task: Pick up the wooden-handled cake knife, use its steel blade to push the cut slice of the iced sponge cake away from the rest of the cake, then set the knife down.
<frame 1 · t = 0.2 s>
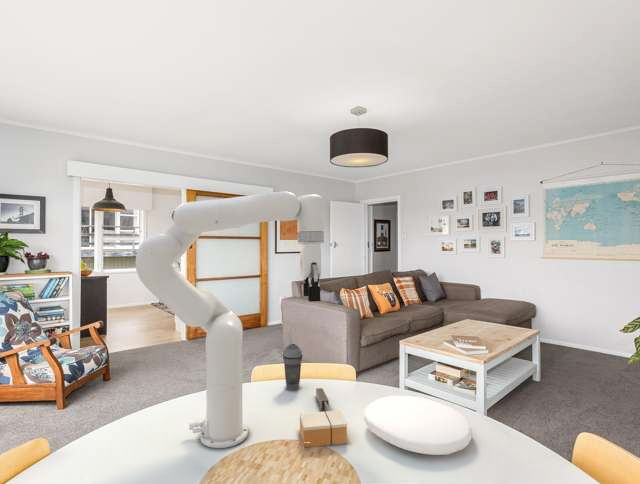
hand: (311, 298, 105), 36 cm above the table, tool pointing down, fingers open, 9 cm apart
white round disc: (416, 433, 101), on the table
cake slice: (335, 436, 100), on the table
beverage cup: (292, 388, 133), on the table
cake: (314, 437, 99), on the table
knife: (322, 403, 120), on the table
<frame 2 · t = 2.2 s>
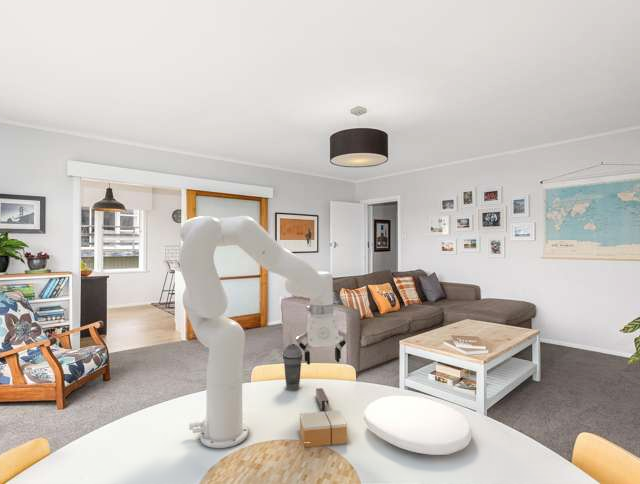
hand: (322, 362, 120), 13 cm above the table, tool pointing down, fingers open, 9 cm apart
nothing on the table moved.
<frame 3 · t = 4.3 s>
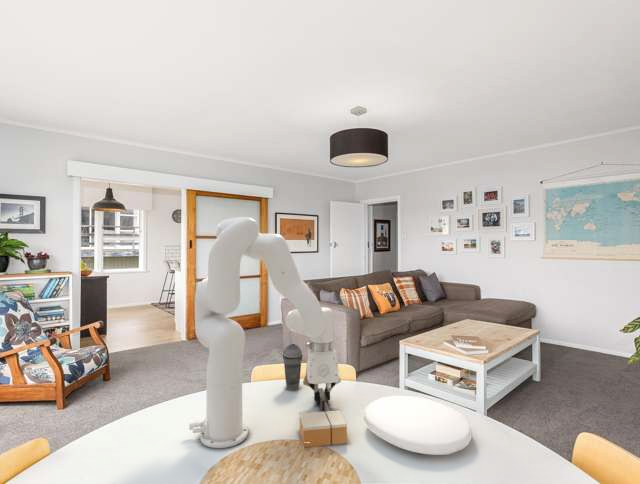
hand: (322, 402, 120), 0 cm above the table, tool pointing down, fingers closed on knife, 2 cm apart
knife: (322, 403, 120), on the table, touching gripper
everything else where it was.
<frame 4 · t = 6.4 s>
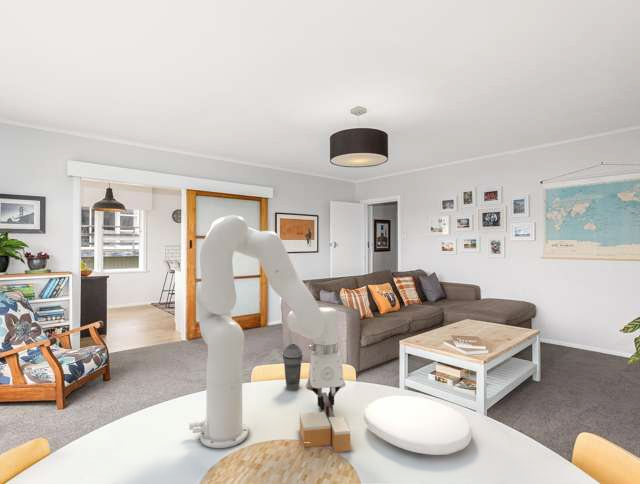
hand: (325, 407, 114), 1 cm above the table, tool pointing down, fingers closed on knife, 2 cm apart
cake slice: (339, 443, 96), on the table, touching knife
knife: (325, 408, 114), point 1 cm above the table, touching cake slice, gripper
everything else where it was.
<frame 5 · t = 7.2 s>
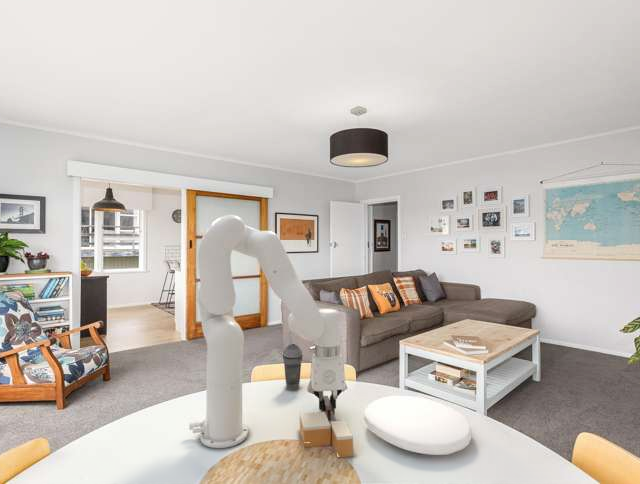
hand: (327, 410, 112), 1 cm above the table, tool pointing down, fingers closed on knife, 2 cm apart
cake slice: (341, 448, 94), on the table, touching knife
knife: (327, 412, 112), point 1 cm above the table, touching cake slice, gripper
everything else where it was.
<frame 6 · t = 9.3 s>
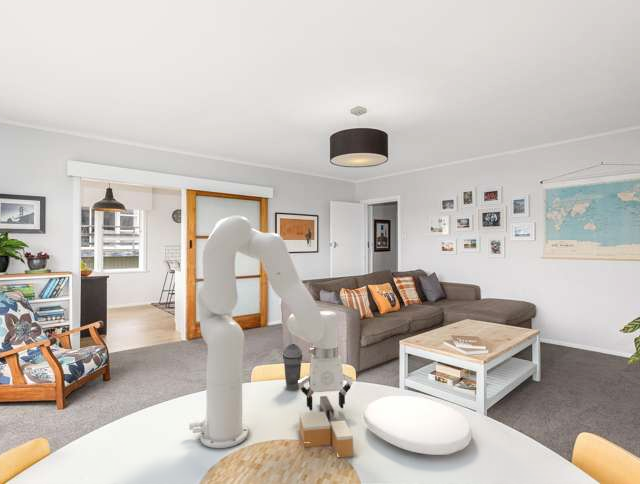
hand: (325, 407, 114), 1 cm above the table, tool pointing down, fingers open, 9 cm apart
cake slice: (341, 448, 94), on the table
knife: (326, 412, 114), on the table
everything else where it was.
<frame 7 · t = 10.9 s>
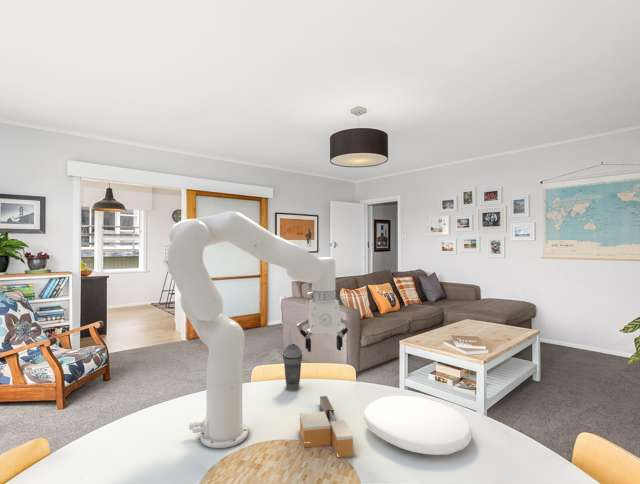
hand: (323, 350, 117), 18 cm above the table, tool pointing down, fingers open, 9 cm apart
nothing on the table moved.
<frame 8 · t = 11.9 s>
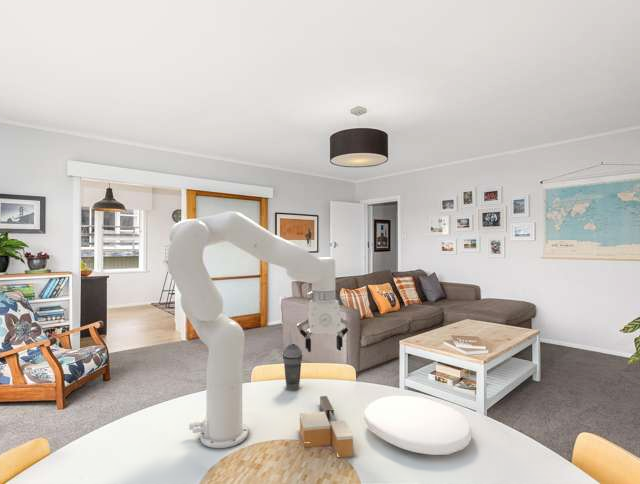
hand: (323, 350, 117), 18 cm above the table, tool pointing down, fingers open, 9 cm apart
nothing on the table moved.
at the end: cake slice 0.8 cm from the target spot, on the table; cake slice tilted 0°; the gripper is holding nothing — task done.
